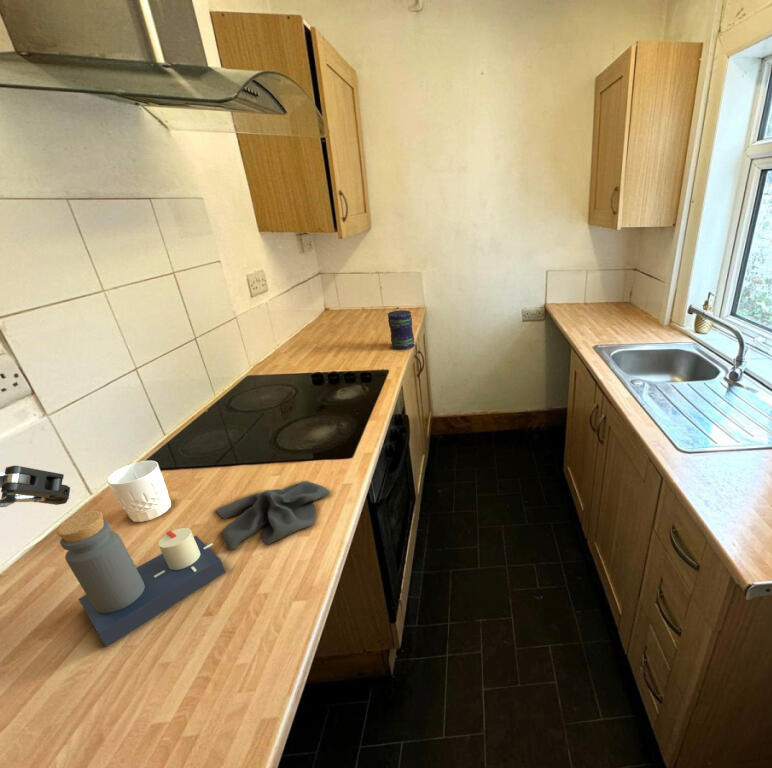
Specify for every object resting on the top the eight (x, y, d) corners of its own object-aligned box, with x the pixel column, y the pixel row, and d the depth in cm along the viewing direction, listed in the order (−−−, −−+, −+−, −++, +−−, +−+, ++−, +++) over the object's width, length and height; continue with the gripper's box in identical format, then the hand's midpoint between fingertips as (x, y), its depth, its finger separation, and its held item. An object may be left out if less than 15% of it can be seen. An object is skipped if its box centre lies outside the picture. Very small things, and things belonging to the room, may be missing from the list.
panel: (106, 647, 60) (97, 632, 59) (86, 612, 65) (77, 598, 64) (230, 568, 73) (225, 555, 72) (205, 544, 78) (200, 531, 77)
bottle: (143, 575, 68) (105, 502, 62) (147, 596, 64) (108, 522, 58) (94, 597, 64) (50, 522, 58) (96, 621, 61) (49, 544, 55)
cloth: (335, 479, 96) (329, 457, 93) (315, 539, 79) (309, 513, 77) (229, 492, 92) (221, 469, 90) (185, 557, 75) (174, 531, 73)
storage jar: (393, 343, 187) (388, 303, 179) (415, 342, 188) (411, 302, 180) (390, 350, 178) (384, 309, 170) (413, 349, 178) (408, 308, 171)
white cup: (173, 514, 86) (156, 474, 82) (124, 530, 82) (103, 489, 78) (175, 494, 92) (159, 456, 88) (129, 508, 88) (110, 468, 84)
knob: (205, 555, 72) (195, 532, 70) (176, 574, 68) (165, 550, 66) (192, 546, 74) (182, 523, 72) (163, 563, 70) (152, 539, 68)
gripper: (-297, 547, 31) (-67, 549, 46) (-52, 509, 35) (89, 522, 50) (-257, 451, 34) (-50, 481, 49) (-32, 424, 37) (97, 460, 52)
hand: (20, 502), depth 49 cm, fingers open, 8 cm apart
